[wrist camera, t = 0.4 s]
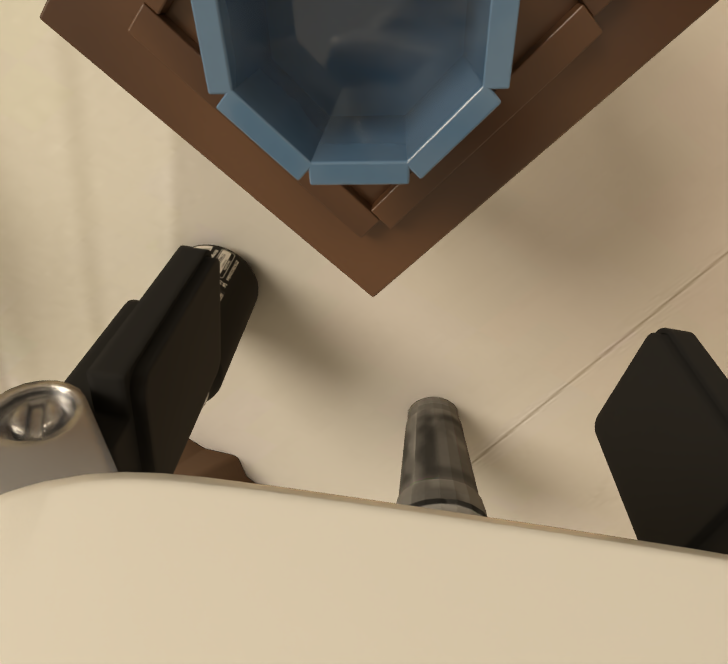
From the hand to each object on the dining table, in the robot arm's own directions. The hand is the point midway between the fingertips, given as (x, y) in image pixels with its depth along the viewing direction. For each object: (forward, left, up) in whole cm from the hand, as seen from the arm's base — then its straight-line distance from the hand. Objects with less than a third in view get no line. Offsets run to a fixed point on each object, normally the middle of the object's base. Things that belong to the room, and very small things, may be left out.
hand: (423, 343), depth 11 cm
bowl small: (-3, -5, -8) cm, 10 cm away
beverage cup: (+17, +21, -25) cm, 37 cm away
